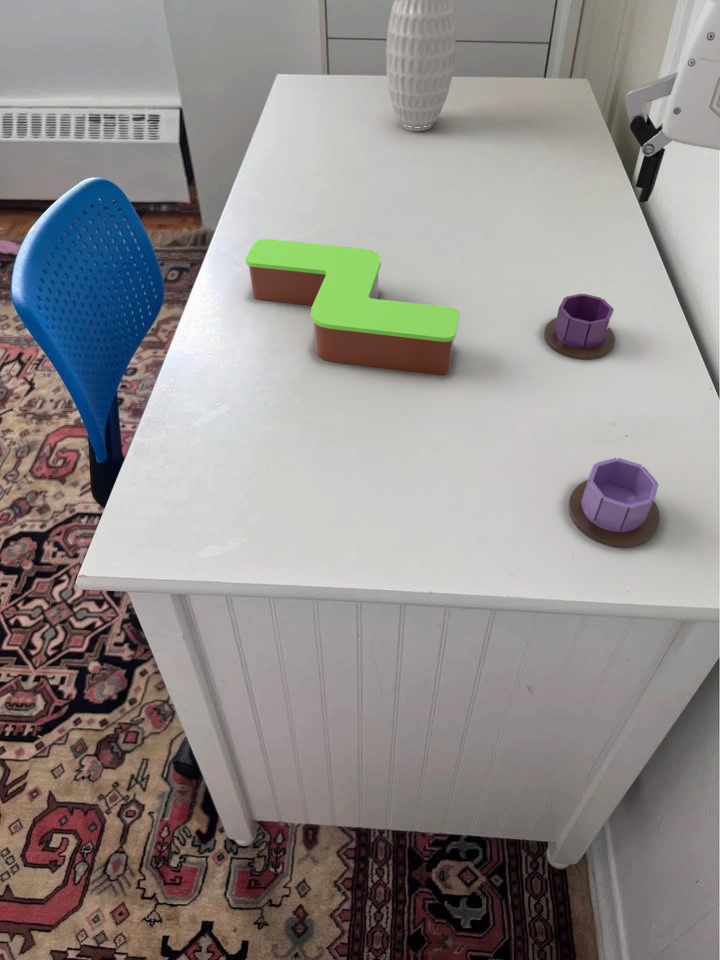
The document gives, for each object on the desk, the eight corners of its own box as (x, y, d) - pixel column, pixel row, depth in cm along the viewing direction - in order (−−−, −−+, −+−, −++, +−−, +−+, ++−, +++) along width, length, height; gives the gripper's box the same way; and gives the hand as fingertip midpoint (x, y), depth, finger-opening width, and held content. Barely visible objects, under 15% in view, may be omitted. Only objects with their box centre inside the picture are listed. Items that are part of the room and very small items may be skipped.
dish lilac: (651, 497, 75) (662, 471, 72) (637, 541, 71) (649, 515, 68) (589, 477, 77) (598, 451, 74) (574, 519, 73) (582, 493, 70)
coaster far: (620, 328, 96) (622, 324, 95) (604, 366, 90) (605, 363, 90) (554, 311, 99) (555, 308, 98) (535, 347, 93) (536, 344, 93)
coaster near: (665, 497, 75) (667, 493, 75) (648, 559, 70) (649, 556, 70) (581, 470, 78) (582, 466, 78) (558, 528, 73) (559, 524, 72)
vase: (381, 137, 138) (383, -40, 118) (388, 111, 147) (391, -58, 126) (447, 140, 137) (461, -38, 116) (450, 114, 146) (464, -56, 125)
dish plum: (609, 327, 95) (617, 301, 92) (597, 354, 91) (605, 328, 88) (562, 315, 97) (568, 289, 94) (548, 341, 93) (554, 315, 90)
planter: (465, 296, 101) (470, 259, 97) (450, 377, 89) (454, 338, 85) (262, 275, 106) (257, 238, 101) (220, 349, 93) (213, 311, 89)
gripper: (648, -23, 52) (593, 205, 64) (920, 6, 46) (802, 248, 59) (667, -45, 56) (613, 171, 69) (918, -22, 51) (809, 208, 63)
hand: (700, 207), depth 64 cm, fingers open, 9 cm apart
